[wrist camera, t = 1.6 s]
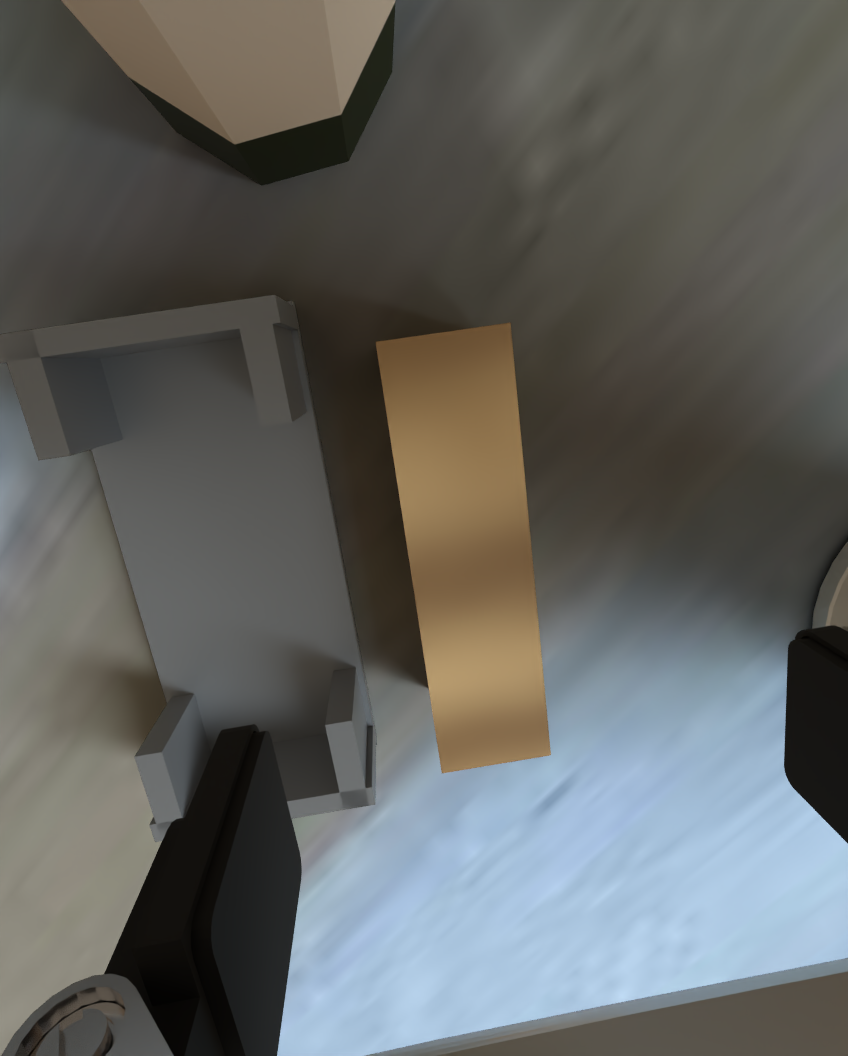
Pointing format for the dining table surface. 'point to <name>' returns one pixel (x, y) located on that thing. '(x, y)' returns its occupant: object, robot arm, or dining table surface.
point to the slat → (468, 540)
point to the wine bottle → (254, 73)
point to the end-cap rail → (216, 535)
